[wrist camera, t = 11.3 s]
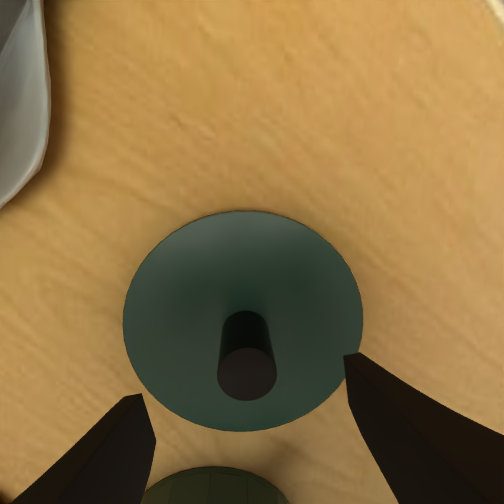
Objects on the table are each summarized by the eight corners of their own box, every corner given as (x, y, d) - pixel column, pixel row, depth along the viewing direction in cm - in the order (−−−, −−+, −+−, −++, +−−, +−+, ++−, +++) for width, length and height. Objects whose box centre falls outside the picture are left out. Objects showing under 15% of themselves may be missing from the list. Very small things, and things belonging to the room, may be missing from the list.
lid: (399, 293, 16) (464, 335, 11) (270, 448, 18) (281, 538, 13) (212, 158, 14) (198, 144, 9) (88, 351, 16) (28, 416, 11)
